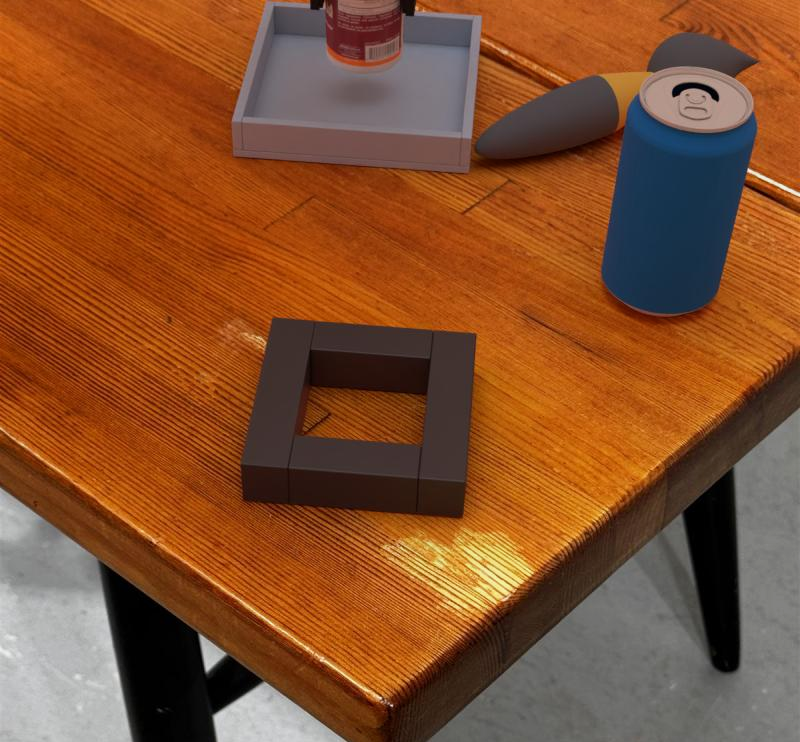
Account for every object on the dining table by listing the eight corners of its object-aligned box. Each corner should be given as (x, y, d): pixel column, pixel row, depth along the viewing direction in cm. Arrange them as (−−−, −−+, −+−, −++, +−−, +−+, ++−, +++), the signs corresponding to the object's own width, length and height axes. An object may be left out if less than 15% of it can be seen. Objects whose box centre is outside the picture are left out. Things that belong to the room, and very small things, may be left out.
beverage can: (716, 257, 82) (761, 68, 73) (717, 332, 78) (765, 140, 69) (601, 245, 83) (632, 56, 74) (596, 318, 78) (628, 126, 70)
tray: (233, 156, 88) (231, 120, 86) (267, 35, 97) (266, 0, 95) (469, 174, 87) (471, 138, 85) (479, 49, 97) (482, 15, 95)
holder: (242, 500, 69) (240, 464, 67) (273, 353, 76) (272, 316, 74) (462, 518, 68) (466, 482, 66) (473, 369, 75) (476, 332, 73)
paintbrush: (508, 199, 85) (516, 126, 82) (461, 157, 88) (466, 84, 85) (762, 108, 93) (779, 37, 89) (711, 71, 96) (725, 1, 92)
